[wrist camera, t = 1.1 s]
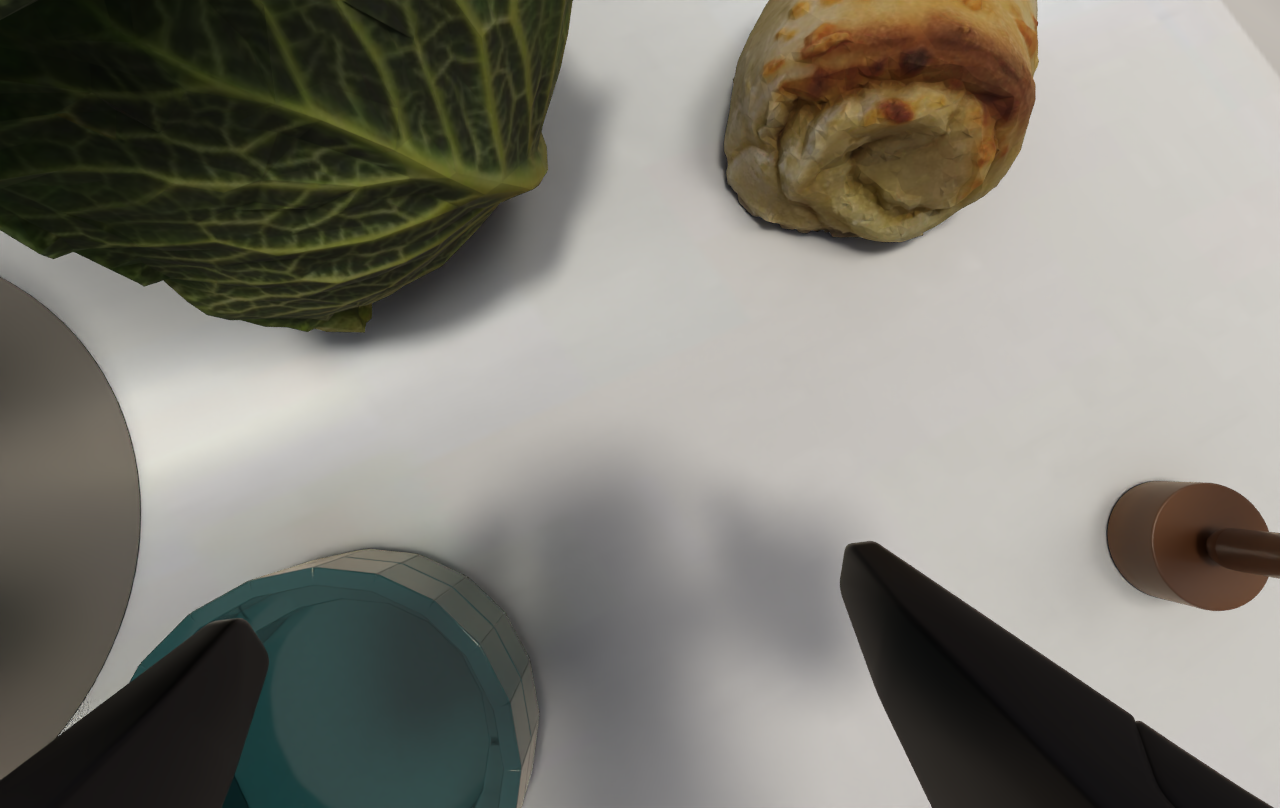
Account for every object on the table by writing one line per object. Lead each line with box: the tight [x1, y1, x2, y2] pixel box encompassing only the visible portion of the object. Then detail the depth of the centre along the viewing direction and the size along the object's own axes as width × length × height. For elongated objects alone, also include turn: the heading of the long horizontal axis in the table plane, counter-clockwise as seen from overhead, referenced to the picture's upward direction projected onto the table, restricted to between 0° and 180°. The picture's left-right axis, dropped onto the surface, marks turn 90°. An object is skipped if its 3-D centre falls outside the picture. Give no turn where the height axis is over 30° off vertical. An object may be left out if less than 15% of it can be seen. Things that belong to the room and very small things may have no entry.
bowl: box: [129, 549, 539, 808], centre depth 19 cm, size 13×13×4 cm
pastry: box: [724, 0, 1039, 242], centre depth 21 cm, size 14×12×8 cm
